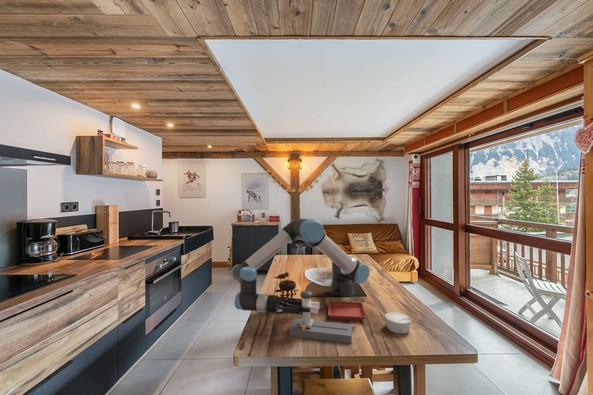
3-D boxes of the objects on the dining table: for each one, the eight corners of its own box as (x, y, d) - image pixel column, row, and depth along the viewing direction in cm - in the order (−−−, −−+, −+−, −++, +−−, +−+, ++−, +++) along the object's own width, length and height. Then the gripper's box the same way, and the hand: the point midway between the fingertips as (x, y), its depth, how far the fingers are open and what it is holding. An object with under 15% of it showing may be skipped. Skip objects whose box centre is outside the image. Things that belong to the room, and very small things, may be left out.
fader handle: (299, 326, 111) (299, 294, 111) (302, 320, 116) (302, 289, 117) (311, 327, 109) (311, 295, 110) (313, 321, 115) (313, 290, 116)
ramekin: (409, 337, 108) (409, 325, 108) (382, 330, 114) (382, 319, 114) (413, 327, 118) (412, 315, 118) (387, 321, 123) (387, 310, 124)
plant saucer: (328, 321, 124) (328, 314, 124) (328, 306, 142) (328, 300, 142) (366, 323, 121) (366, 316, 121) (362, 308, 139) (362, 302, 139)
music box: (279, 314, 130) (277, 274, 132) (271, 308, 140) (269, 271, 142) (305, 309, 137) (303, 271, 139) (295, 303, 147) (294, 268, 149)
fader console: (289, 336, 109) (289, 325, 110) (295, 325, 119) (294, 315, 119) (351, 343, 104) (351, 332, 104) (351, 331, 113) (351, 321, 113)
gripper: (273, 304, 125) (321, 308, 120) (261, 319, 109) (315, 325, 103) (273, 289, 126) (321, 292, 120) (261, 302, 109) (315, 307, 104)
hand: (318, 307), depth 112 cm, fingers closed on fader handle, 4 cm apart
